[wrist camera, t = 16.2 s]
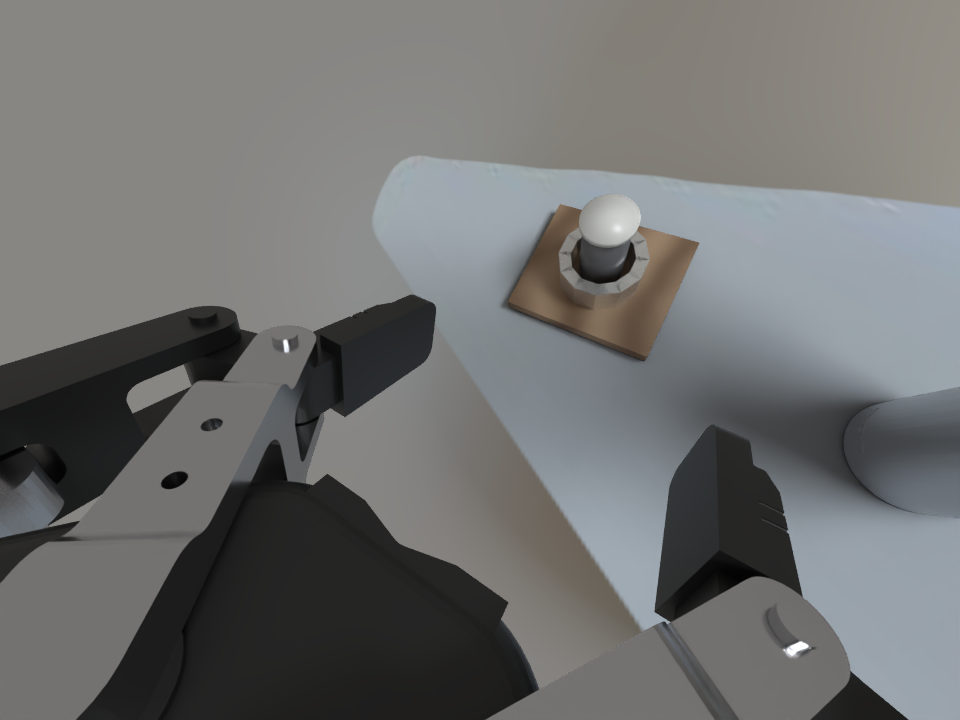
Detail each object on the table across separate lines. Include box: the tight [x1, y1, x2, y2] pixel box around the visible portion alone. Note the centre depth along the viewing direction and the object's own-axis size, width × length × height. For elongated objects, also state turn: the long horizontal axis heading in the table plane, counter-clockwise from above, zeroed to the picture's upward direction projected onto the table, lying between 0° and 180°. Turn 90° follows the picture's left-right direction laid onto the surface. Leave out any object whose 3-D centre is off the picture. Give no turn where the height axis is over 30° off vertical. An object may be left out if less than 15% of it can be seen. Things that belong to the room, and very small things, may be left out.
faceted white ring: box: [559, 228, 650, 310], centre depth 38 cm, size 9×9×4 cm
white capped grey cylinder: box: [579, 194, 641, 284], centre depth 35 cm, size 5×5×10 cm
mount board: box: [508, 204, 699, 361], centre depth 40 cm, size 16×14×2 cm
